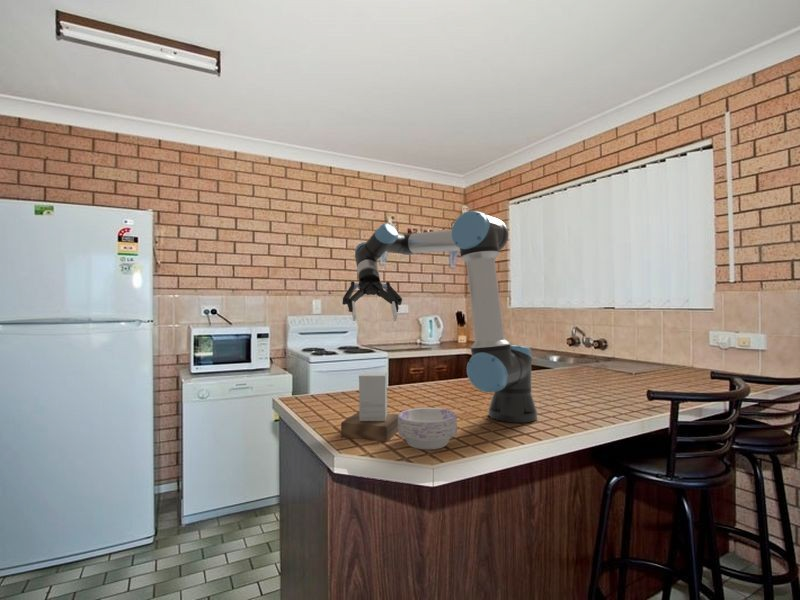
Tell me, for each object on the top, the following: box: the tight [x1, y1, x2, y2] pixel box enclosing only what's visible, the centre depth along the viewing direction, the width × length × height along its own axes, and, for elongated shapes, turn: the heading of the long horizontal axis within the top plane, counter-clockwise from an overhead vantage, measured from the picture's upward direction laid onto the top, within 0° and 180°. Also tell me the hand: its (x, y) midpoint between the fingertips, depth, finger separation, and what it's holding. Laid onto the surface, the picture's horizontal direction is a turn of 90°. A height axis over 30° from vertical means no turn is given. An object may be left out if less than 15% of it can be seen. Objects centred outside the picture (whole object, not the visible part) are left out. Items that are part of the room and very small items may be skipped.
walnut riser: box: [340, 411, 399, 443], centre depth 120 cm, size 13×13×4 cm
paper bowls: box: [397, 407, 458, 451], centre depth 110 cm, size 15×15×8 cm
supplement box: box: [358, 371, 388, 421], centre depth 120 cm, size 7×7×13 cm
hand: (375, 318), depth 139 cm, fingers open, 13 cm apart
